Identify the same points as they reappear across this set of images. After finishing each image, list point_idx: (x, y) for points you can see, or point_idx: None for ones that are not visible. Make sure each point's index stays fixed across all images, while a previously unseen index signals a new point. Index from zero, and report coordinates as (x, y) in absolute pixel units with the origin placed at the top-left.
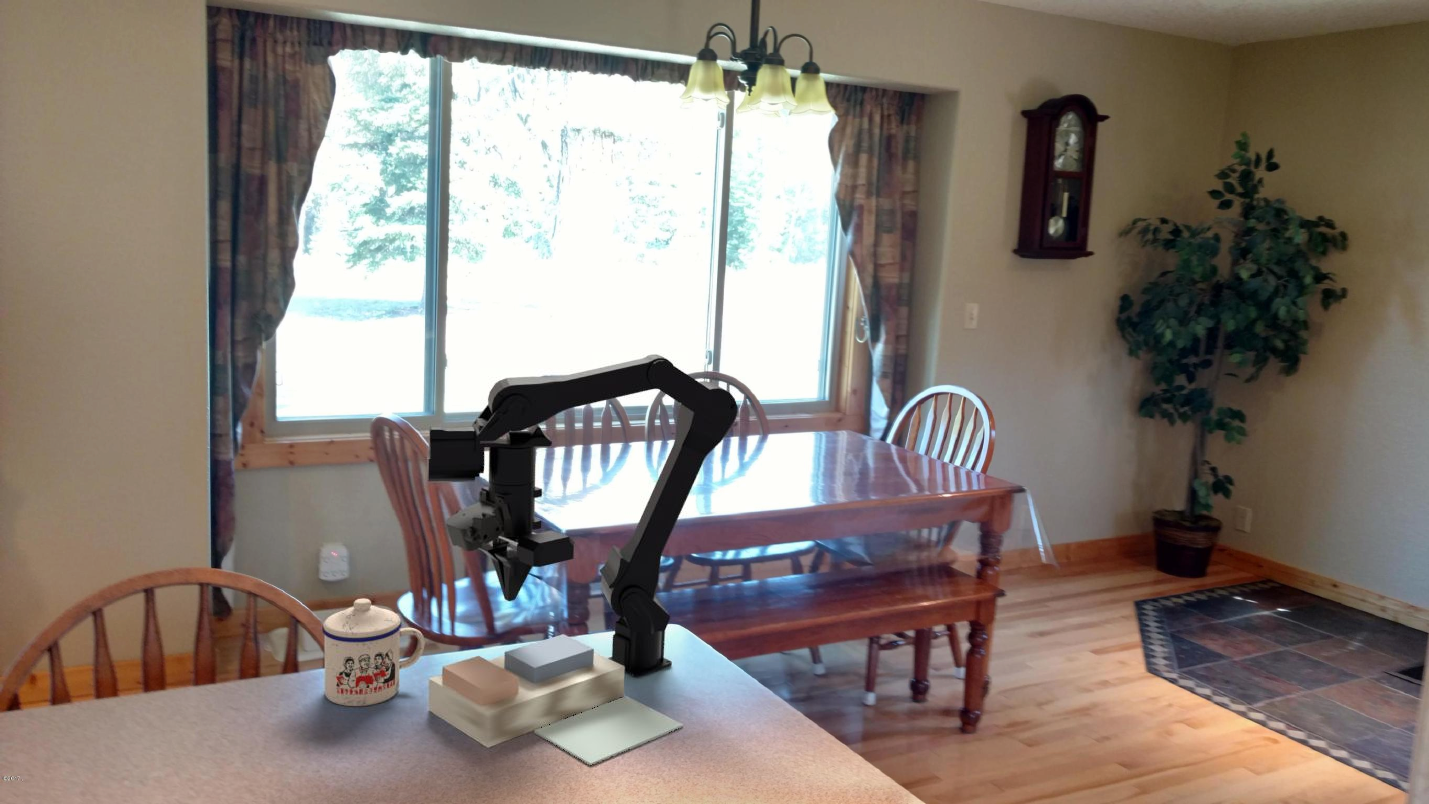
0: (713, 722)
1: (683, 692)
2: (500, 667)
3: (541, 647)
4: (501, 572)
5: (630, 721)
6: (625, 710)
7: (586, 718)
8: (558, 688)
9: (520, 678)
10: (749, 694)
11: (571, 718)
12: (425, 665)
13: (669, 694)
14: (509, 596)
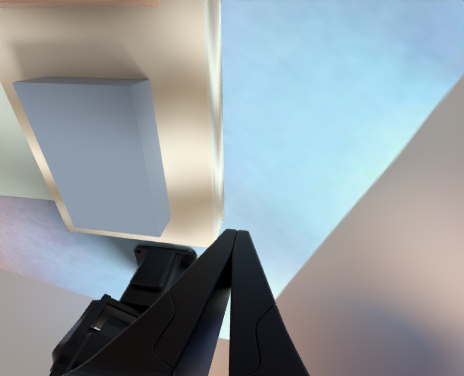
0: (6, 220)
1: (84, 249)
2: (32, 2)
3: (117, 168)
4: (230, 319)
5: (20, 159)
6: None
7: None
8: (12, 101)
9: (80, 70)
10: (57, 278)
11: None
12: (432, 36)
13: (85, 238)
14: (217, 240)
